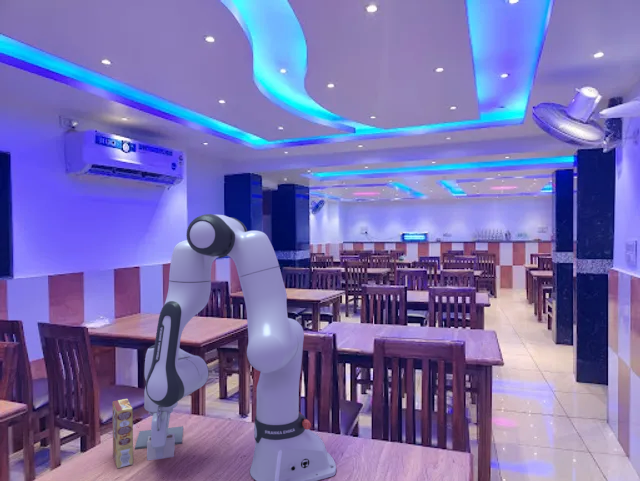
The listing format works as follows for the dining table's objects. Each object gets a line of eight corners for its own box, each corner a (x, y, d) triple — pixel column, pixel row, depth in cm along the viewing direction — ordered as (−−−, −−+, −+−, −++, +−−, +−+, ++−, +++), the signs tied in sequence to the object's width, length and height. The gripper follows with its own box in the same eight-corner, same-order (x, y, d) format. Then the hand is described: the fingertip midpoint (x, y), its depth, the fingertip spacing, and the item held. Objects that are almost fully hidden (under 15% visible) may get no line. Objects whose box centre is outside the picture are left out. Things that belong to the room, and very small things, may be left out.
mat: (183, 428, 138) (183, 426, 138) (182, 443, 127) (182, 441, 127) (139, 433, 134) (139, 431, 134) (134, 449, 124) (134, 447, 124)
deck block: (174, 450, 123) (174, 432, 123) (173, 457, 119) (173, 438, 119) (148, 453, 121) (148, 435, 121) (146, 460, 117) (147, 442, 117)
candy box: (133, 464, 115) (133, 407, 115) (116, 469, 113) (116, 411, 113) (127, 451, 122) (128, 397, 122) (111, 455, 120) (111, 400, 120)
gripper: (171, 413, 111) (170, 466, 111) (174, 387, 131) (174, 432, 131) (145, 415, 110) (144, 469, 109) (152, 389, 129) (152, 435, 129)
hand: (161, 449), depth 120 cm, fingers open, 8 cm apart
